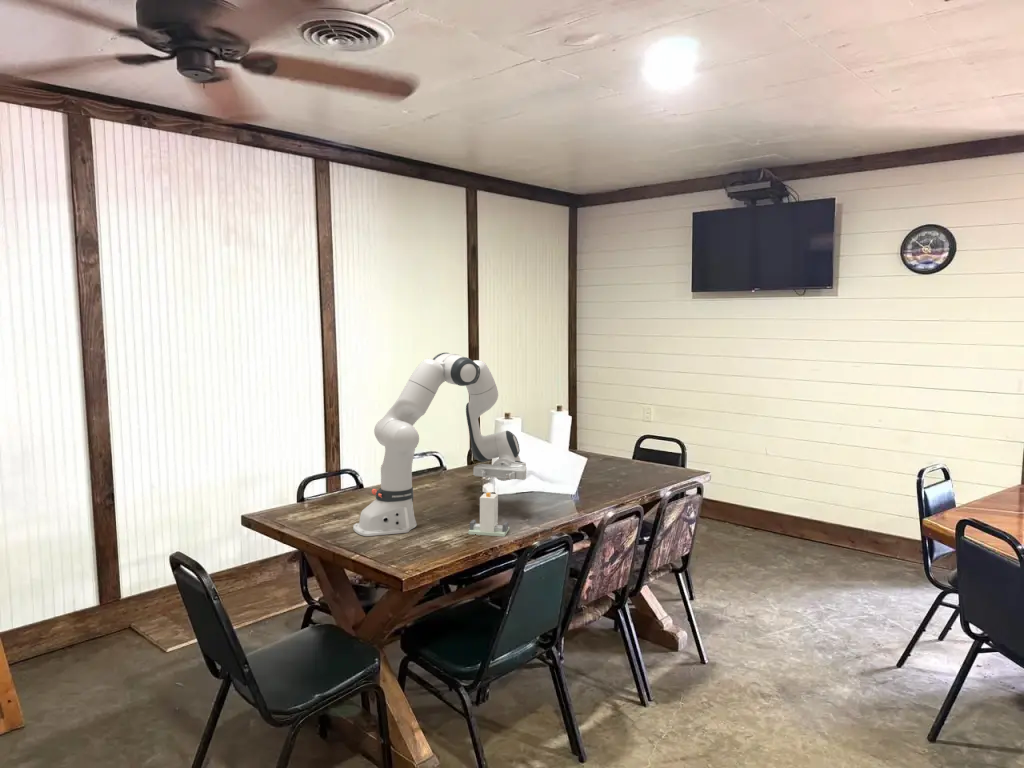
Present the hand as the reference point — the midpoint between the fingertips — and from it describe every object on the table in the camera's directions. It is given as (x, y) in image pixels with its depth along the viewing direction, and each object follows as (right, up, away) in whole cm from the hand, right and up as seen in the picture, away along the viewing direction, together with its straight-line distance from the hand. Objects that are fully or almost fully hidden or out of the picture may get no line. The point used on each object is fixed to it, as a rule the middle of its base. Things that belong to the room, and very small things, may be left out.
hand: (495, 475), depth 257 cm
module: (-2, -17, -11) cm, 21 cm away
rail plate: (-2, -18, -11) cm, 22 cm away
